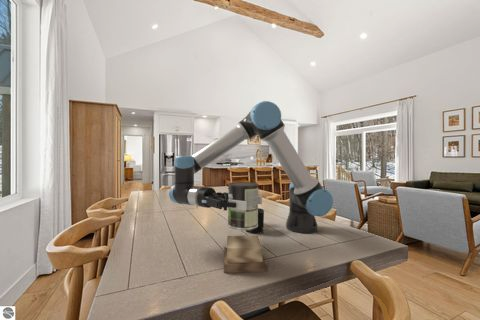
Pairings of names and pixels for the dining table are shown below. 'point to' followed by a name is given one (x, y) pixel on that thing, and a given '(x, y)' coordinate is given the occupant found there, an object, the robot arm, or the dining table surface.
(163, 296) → the dining table surface
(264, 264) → the plinth
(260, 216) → the pen holder
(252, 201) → the coffee can
